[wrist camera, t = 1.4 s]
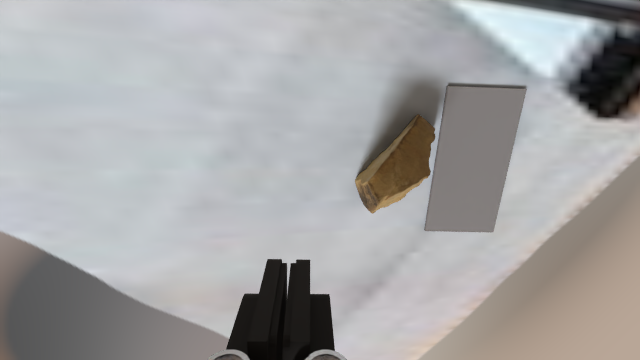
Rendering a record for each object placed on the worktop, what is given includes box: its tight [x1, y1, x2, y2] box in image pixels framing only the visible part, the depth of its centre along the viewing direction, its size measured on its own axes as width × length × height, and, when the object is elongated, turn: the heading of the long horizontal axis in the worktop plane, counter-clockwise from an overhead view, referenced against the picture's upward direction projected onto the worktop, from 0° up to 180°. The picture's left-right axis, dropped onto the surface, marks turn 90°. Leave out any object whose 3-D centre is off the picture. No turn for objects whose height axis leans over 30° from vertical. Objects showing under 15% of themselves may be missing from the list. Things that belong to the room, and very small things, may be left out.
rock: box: [355, 115, 435, 213], centre depth 29 cm, size 11×9×10 cm
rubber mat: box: [424, 86, 527, 232], centre depth 32 cm, size 8×16×1 cm, turn 178°
